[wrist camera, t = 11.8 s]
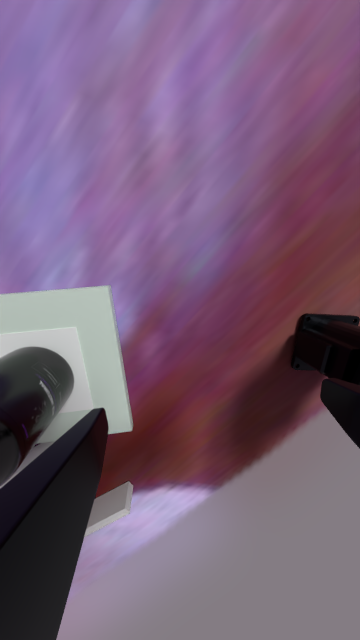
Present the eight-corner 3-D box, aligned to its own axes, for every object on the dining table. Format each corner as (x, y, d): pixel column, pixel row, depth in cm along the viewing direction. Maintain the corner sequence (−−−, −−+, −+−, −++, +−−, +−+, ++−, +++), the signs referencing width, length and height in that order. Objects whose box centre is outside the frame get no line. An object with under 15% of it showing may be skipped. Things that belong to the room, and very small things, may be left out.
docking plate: (110, 285, 19) (107, 286, 18) (133, 424, 23) (131, 431, 22) (-73, 300, 18) (-87, 302, 17) (-14, 443, 22) (-23, 452, 21)
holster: (77, 423, 23) (64, 446, 20) (133, 485, 26) (129, 513, 23) (-1, 466, 23) (-24, 494, 20) (64, 522, 26) (52, 554, 23)
